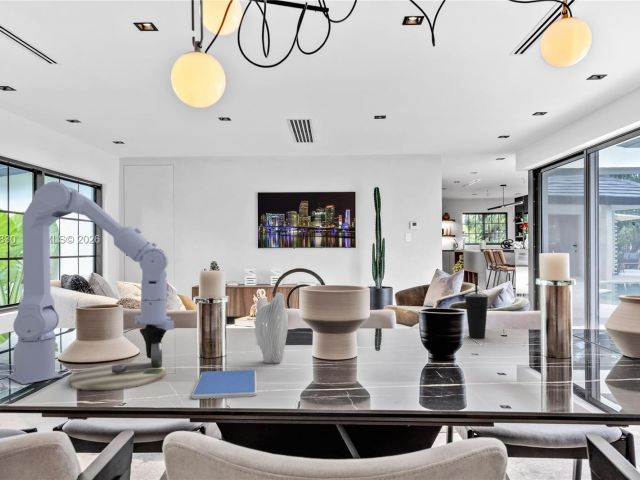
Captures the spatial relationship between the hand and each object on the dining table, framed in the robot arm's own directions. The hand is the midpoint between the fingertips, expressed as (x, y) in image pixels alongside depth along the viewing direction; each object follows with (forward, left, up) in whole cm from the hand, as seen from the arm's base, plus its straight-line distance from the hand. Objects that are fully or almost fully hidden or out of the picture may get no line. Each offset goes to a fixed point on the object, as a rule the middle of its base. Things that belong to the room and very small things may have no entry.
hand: (153, 357), depth 109 cm
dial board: (-1, -8, -3) cm, 8 cm away
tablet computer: (+22, +4, -4) cm, 23 cm away
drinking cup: (+42, +91, -4) cm, 101 cm away
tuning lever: (0, -4, -2) cm, 4 cm away
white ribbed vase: (+15, +24, -4) cm, 29 cm away
